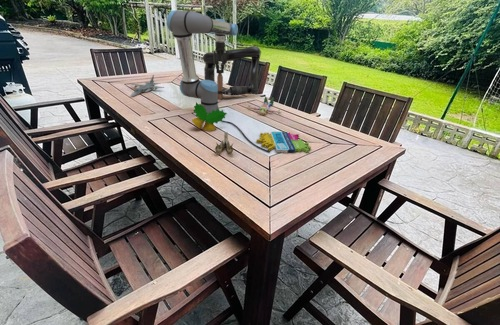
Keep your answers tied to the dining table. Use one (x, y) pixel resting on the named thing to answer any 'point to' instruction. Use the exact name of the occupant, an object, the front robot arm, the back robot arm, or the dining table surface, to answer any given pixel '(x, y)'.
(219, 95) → the bottle
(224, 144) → the jawbone
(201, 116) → the ornament
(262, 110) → the toy
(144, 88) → the airplane
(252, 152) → the dining table surface
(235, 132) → the dining table surface
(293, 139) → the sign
